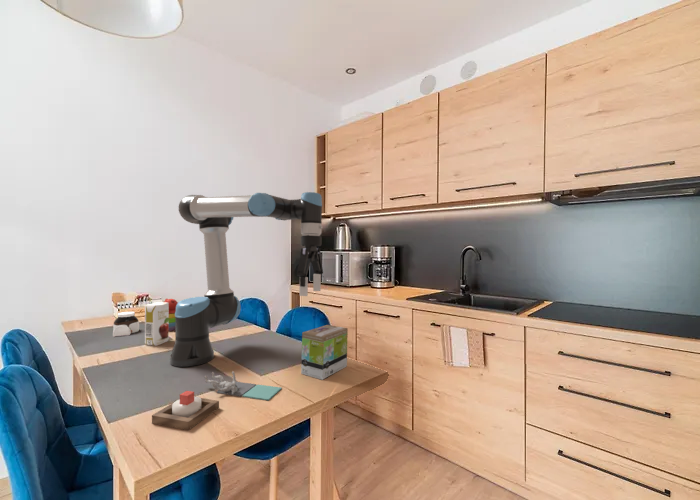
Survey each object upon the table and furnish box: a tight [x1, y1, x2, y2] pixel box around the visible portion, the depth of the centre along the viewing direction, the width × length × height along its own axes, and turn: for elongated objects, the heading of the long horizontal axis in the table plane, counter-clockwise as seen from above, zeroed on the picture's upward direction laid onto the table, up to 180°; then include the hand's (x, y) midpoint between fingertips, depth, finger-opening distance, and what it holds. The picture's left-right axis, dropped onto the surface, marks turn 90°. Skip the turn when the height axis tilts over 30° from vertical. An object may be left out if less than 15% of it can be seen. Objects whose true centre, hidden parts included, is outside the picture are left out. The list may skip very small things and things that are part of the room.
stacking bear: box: [163, 298, 179, 332], centre depth 163 cm, size 11×10×18 cm
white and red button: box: [171, 390, 202, 418], centre depth 83 cm, size 7×7×6 cm
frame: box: [151, 397, 220, 431], centre depth 83 cm, size 11×11×2 cm
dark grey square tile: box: [216, 380, 257, 398], centre depth 98 cm, size 8×8×1 cm
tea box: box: [300, 324, 349, 381], centre depth 114 cm, size 15×10×15 cm, turn 148°
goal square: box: [242, 383, 283, 401], centre depth 96 cm, size 8×8×1 cm
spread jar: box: [112, 311, 140, 338], centre depth 155 cm, size 12×11×12 cm
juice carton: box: [144, 301, 170, 347], centre depth 142 cm, size 8×9×19 cm
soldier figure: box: [204, 370, 239, 396], centre depth 97 cm, size 8×5×12 cm
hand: (310, 293), depth 116 cm, fingers open, 13 cm apart
